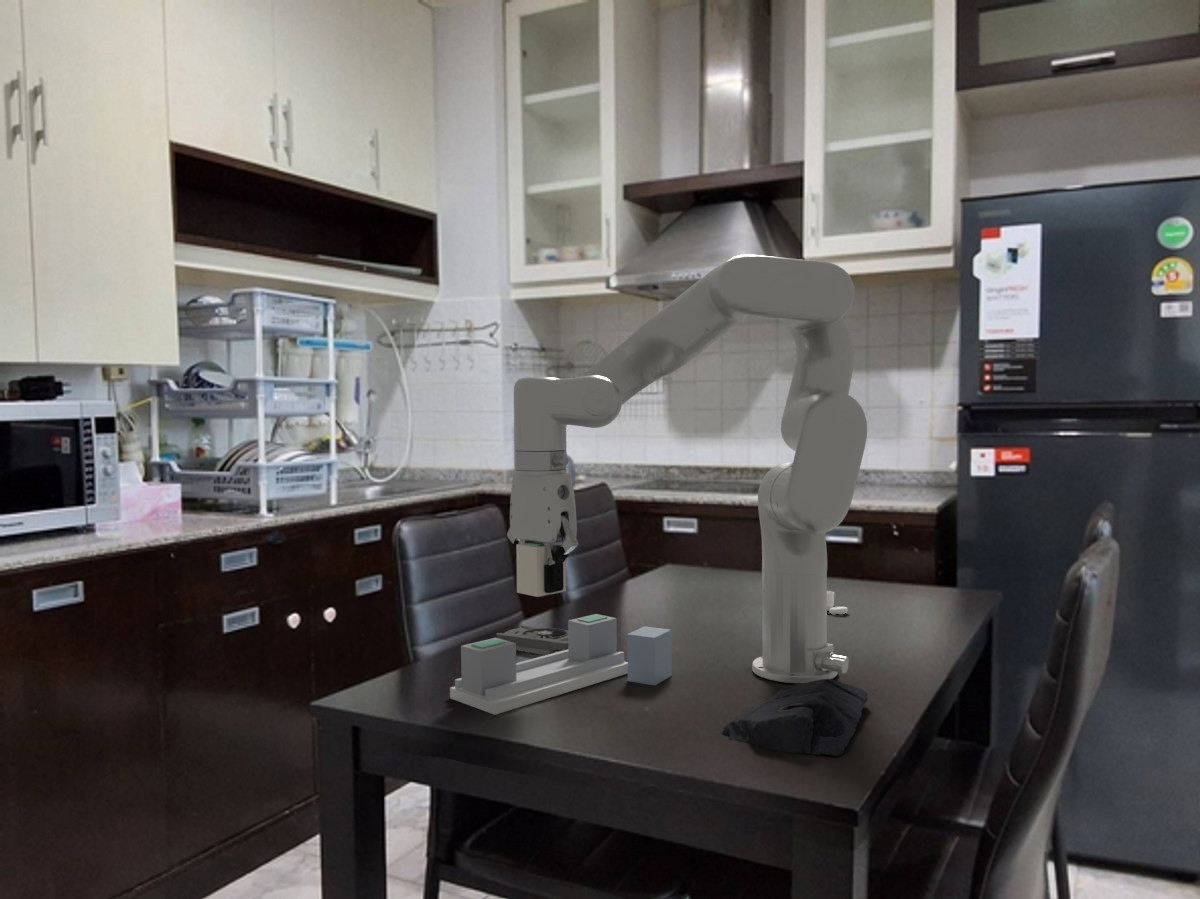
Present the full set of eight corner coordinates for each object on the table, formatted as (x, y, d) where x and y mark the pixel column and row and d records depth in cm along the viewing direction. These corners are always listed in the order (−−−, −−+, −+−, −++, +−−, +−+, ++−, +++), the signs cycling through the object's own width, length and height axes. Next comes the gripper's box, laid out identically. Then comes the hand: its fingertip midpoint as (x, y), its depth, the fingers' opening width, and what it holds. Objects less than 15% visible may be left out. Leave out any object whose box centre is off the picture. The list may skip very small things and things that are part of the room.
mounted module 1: (516, 686, 126) (515, 641, 126) (481, 696, 122) (481, 650, 122) (496, 679, 129) (495, 636, 129) (461, 689, 125) (460, 644, 125)
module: (671, 675, 137) (671, 629, 137) (655, 685, 132) (654, 637, 132) (644, 671, 139) (644, 626, 139) (627, 681, 134) (627, 634, 134)
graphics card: (613, 627, 155) (575, 641, 144) (613, 649, 155) (575, 665, 145) (532, 617, 163) (490, 630, 153) (532, 638, 164) (490, 652, 153)
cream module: (566, 591, 133) (565, 541, 132) (537, 596, 129) (536, 546, 128) (545, 587, 136) (545, 538, 135) (516, 592, 132) (516, 542, 132)
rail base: (630, 672, 138) (630, 653, 138) (494, 714, 120) (494, 693, 120) (584, 660, 146) (584, 642, 145) (450, 698, 127) (449, 677, 127)
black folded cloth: (887, 710, 122) (887, 675, 121) (837, 766, 103) (837, 725, 103) (777, 692, 130) (777, 659, 129) (713, 741, 111) (712, 703, 111)
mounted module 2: (617, 656, 140) (616, 617, 140) (589, 665, 136) (588, 623, 136) (596, 651, 144) (596, 612, 143) (568, 659, 139) (568, 619, 139)
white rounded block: (853, 618, 174) (853, 597, 174) (811, 618, 174) (811, 597, 174) (842, 608, 183) (842, 588, 182) (802, 608, 183) (802, 588, 183)
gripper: (600, 464, 128) (601, 593, 129) (522, 459, 140) (524, 578, 141) (560, 466, 123) (562, 601, 124) (483, 462, 135) (485, 585, 136)
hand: (541, 587), depth 132 cm, fingers closed on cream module, 4 cm apart
